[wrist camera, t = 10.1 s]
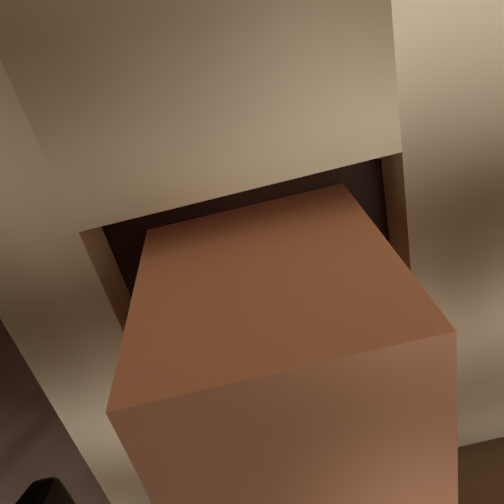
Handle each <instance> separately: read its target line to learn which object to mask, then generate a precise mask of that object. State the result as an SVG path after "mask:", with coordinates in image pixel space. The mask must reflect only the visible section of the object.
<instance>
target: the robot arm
mask: <svg viewBox="0 0 504 504" xmlns="http://www.w3.org/2000/svg"><path fill="white" fill-rule="evenodd" d="M15 504H75V502H74V500H73V499H72V497H71V496H70V494H69V493H68V491H67V490H66V488H65V487H64V485H63V483H62V482H61V480H60V479H59V478H57V477H49V478H45V479H40V480H37V481H35V482H33V483H32V484H31V485H30V486H29V487H28V488H27V490H26V491H25V492H24V493H23V495H22V496H21V497H20V498H19V500H18V501H17V502H16V503H15Z"/></svg>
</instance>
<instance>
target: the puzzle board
mask: <svg viewBox="0 0 504 504" xmlns="http://www.w3.org/2000/svg"><path fill="white" fill-rule="evenodd" d="M380 157H381V163H382V174H383V184H384V194H385V205H386V215H387V226H388V236H389V244H390V245H391V246H392V248H393V249H394V250H395V251H396V253H397V254H398V255H399V257H400V258H401V259H402V261H403V262H404V263H405V264H406V266H407V267H408V268H409V270H410V271H411V272H412V274H413V275H414V276H415V277H416V279H417V280H418V281H419V283H420V284H421V285H422V287H423V288H424V289H425V291H426V292H427V293H428V294H429V296H430V297H431V298H432V300H433V301H434V302H435V304H436V305H437V306H438V307H439V309H440V310H441V311H442V313H443V314H444V315H445V317H446V318H447V319H448V320H449V322H450V323H451V324H452V326H453V327H454V328H455V330H456V331H457V434H458V504H504V0H0V319H1V321H2V323H3V324H4V326H5V328H6V329H7V331H8V333H9V334H10V336H11V338H12V339H13V341H14V343H15V344H16V346H17V348H18V349H19V351H20V353H21V354H22V356H23V358H24V359H25V361H26V363H27V364H28V366H29V368H30V369H31V371H32V373H33V374H34V376H35V378H36V379H37V381H38V383H39V384H40V386H41V388H42V389H43V391H44V393H45V394H46V396H47V398H48V399H49V401H50V403H51V404H52V406H53V408H54V409H55V411H56V413H57V414H58V416H59V418H60V420H61V421H62V423H63V425H64V426H65V428H66V430H67V431H68V433H69V435H70V436H71V438H72V440H73V441H74V443H75V445H76V446H77V448H78V450H79V451H80V453H81V455H82V456H83V458H84V460H85V461H86V463H87V465H88V466H89V468H90V470H91V471H92V473H93V475H94V476H95V478H96V480H97V481H98V483H99V485H100V486H101V488H102V490H103V491H104V493H105V495H106V496H107V498H108V500H109V501H110V503H111V504H152V502H151V500H150V498H149V496H148V494H147V492H146V490H145V488H144V486H143V484H142V482H141V481H140V479H139V477H138V475H137V473H136V471H135V469H134V467H133V465H132V463H131V461H130V459H129V457H128V455H127V453H126V451H125V450H124V448H123V446H122V444H121V442H120V440H119V438H118V436H117V434H116V432H115V430H114V428H113V426H112V424H111V422H110V421H109V419H108V417H107V415H106V413H105V412H106V408H107V404H108V399H109V395H110V390H111V386H112V382H113V377H114V373H115V369H116V364H117V360H118V355H119V351H120V347H121V342H122V338H123V333H124V329H125V325H126V320H127V316H128V312H129V307H130V303H131V295H130V293H129V291H128V288H127V286H126V284H125V281H124V279H123V276H122V274H121V272H120V269H119V267H118V265H117V262H116V260H115V257H114V255H113V253H112V250H111V248H110V246H109V243H108V241H107V238H106V236H105V234H104V231H103V229H102V227H101V226H105V225H109V224H113V223H117V222H121V221H125V220H129V219H133V218H137V217H141V216H145V215H150V214H154V213H158V212H162V211H166V210H170V209H174V208H178V207H182V206H186V205H190V204H194V203H198V202H202V201H206V200H210V199H214V198H218V197H222V196H226V195H230V194H235V193H239V192H243V191H247V190H251V189H255V188H259V187H263V186H267V185H271V184H275V183H279V182H283V181H287V180H291V179H295V178H299V177H303V176H307V175H311V174H315V173H319V172H324V171H328V170H332V169H336V168H340V167H344V166H348V165H352V164H356V163H360V162H364V161H368V160H372V159H376V158H380Z"/></svg>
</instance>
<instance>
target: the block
mask: <svg viewBox="0 0 504 504" xmlns="http://www.w3.org/2000/svg"><path fill="white" fill-rule="evenodd" d="M105 413H106V415H107V417H108V419H109V421H110V422H111V424H112V426H113V428H114V430H115V432H116V434H117V436H118V438H119V440H120V442H121V444H122V446H123V448H124V450H125V451H126V453H127V455H128V457H129V459H130V461H131V463H132V465H133V467H134V469H135V471H136V473H137V475H138V477H139V479H140V481H141V482H142V484H143V486H144V488H145V490H146V492H147V494H148V496H149V498H150V500H151V502H152V504H458V434H457V331H456V330H455V328H454V327H453V326H452V324H451V323H450V322H449V320H448V319H447V318H446V317H445V315H444V314H443V313H442V311H441V310H440V309H439V307H438V306H437V305H436V304H435V302H434V301H433V300H432V298H431V297H430V296H429V294H428V293H427V292H426V291H425V289H424V288H423V287H422V285H421V284H420V283H419V281H418V280H417V279H416V277H415V276H414V275H413V274H412V272H411V271H410V270H409V268H408V267H407V266H406V264H405V263H404V262H403V261H402V259H401V258H400V257H399V255H398V254H397V253H396V251H395V250H394V249H393V248H392V246H391V245H390V244H389V242H388V241H387V240H386V238H385V237H384V236H383V234H382V233H381V232H380V231H379V229H378V228H377V227H376V225H375V224H374V223H373V221H372V220H371V219H370V218H369V216H368V215H367V214H366V212H365V211H364V210H363V208H362V207H361V206H360V205H359V203H358V202H357V201H356V199H355V198H354V197H353V195H352V194H351V193H350V191H349V190H348V189H347V188H346V186H345V185H344V184H343V183H342V184H337V185H333V186H329V187H325V188H321V189H316V190H312V191H308V192H304V193H300V194H295V195H291V196H287V197H283V198H279V199H275V200H270V201H266V202H262V203H258V204H254V205H249V206H245V207H241V208H237V209H233V210H228V211H224V212H220V213H216V214H212V215H207V216H203V217H199V218H195V219H191V220H186V221H182V222H178V223H174V224H170V225H166V226H161V227H157V228H153V229H149V230H147V233H146V237H145V242H144V246H143V250H142V255H141V259H140V263H139V268H138V272H137V277H136V281H135V285H134V290H133V294H132V298H131V303H130V307H129V312H128V316H127V320H126V325H125V329H124V333H123V338H122V342H121V347H120V351H119V355H118V360H117V364H116V369H115V373H114V377H113V382H112V386H111V390H110V395H109V399H108V404H107V408H106V412H105Z"/></svg>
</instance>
